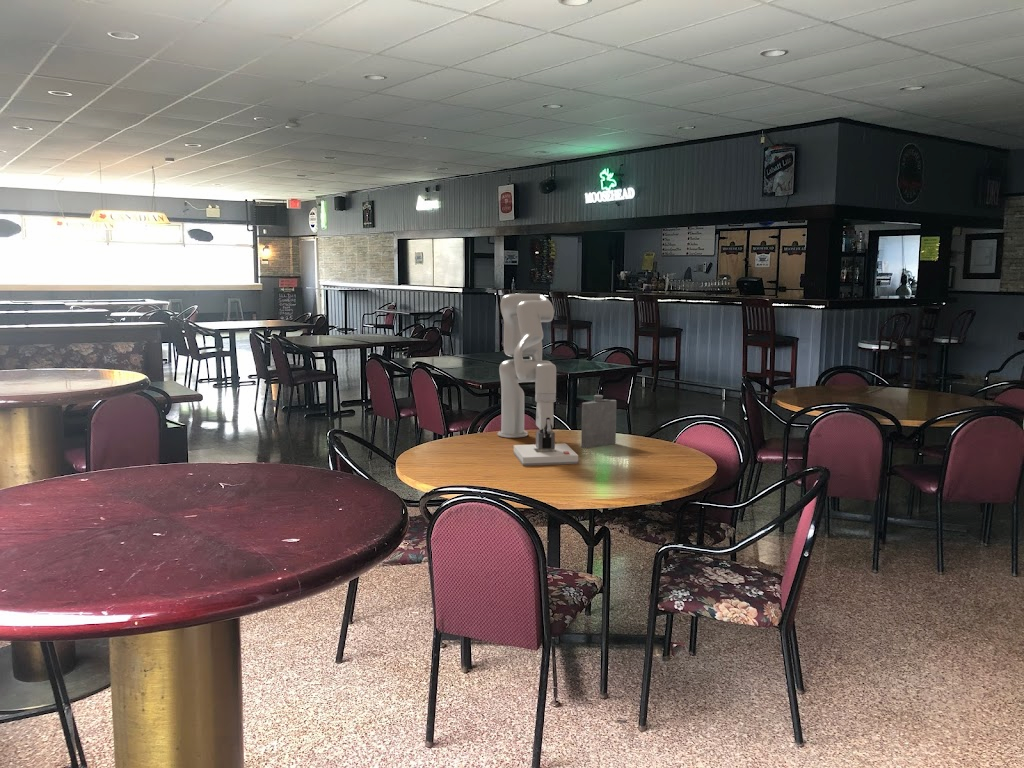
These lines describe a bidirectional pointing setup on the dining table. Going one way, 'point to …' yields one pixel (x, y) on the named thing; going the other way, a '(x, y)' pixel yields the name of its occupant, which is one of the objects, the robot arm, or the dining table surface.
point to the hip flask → (598, 422)
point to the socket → (545, 455)
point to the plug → (539, 441)
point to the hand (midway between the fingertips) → (545, 445)
